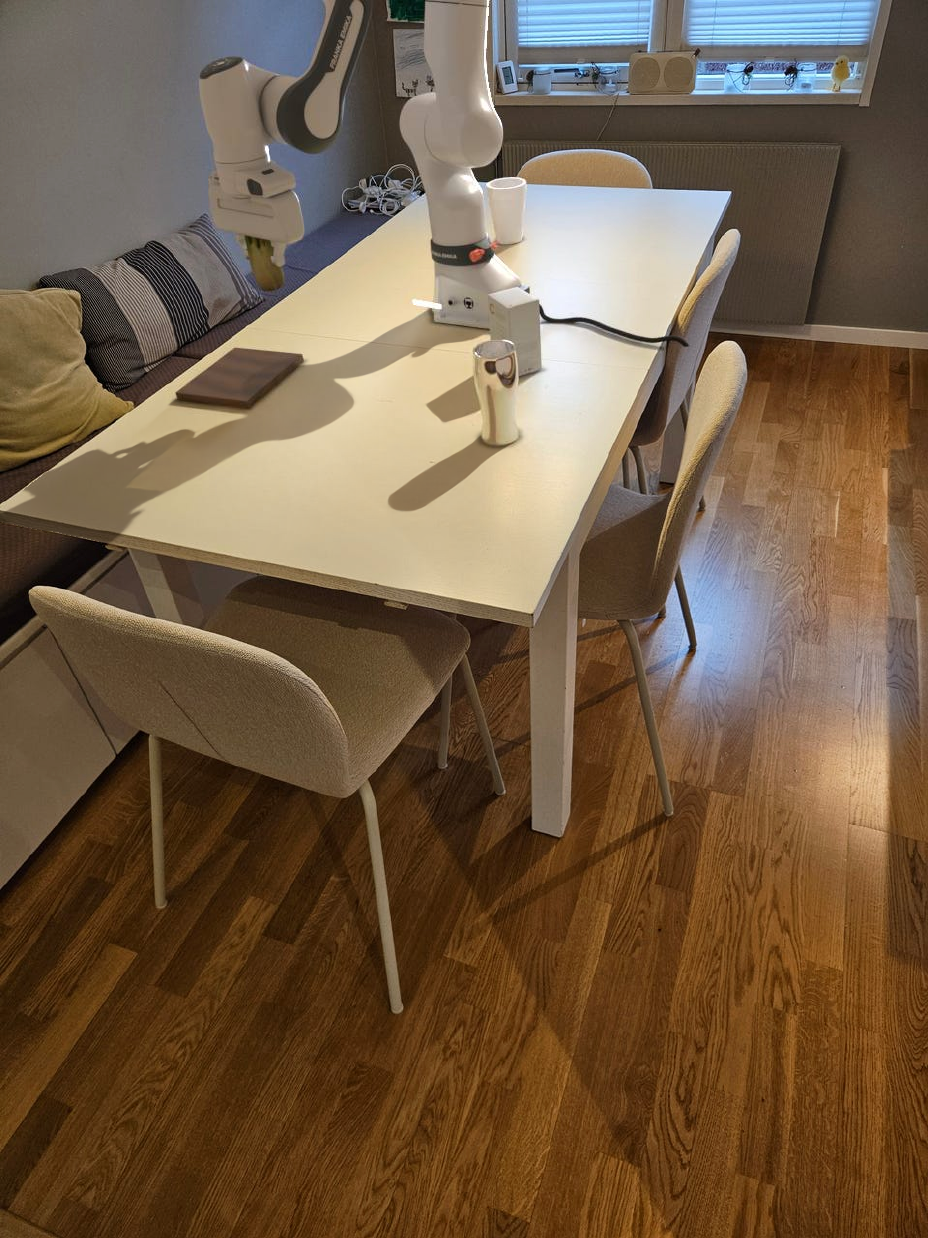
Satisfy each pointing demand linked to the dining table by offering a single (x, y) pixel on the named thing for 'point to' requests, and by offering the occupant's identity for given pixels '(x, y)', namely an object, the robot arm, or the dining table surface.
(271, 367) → the cutting board
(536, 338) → the small box
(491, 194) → the foam cup
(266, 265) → the fennel bulb
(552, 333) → the dining table surface
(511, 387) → the beer glass
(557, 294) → the dining table surface
